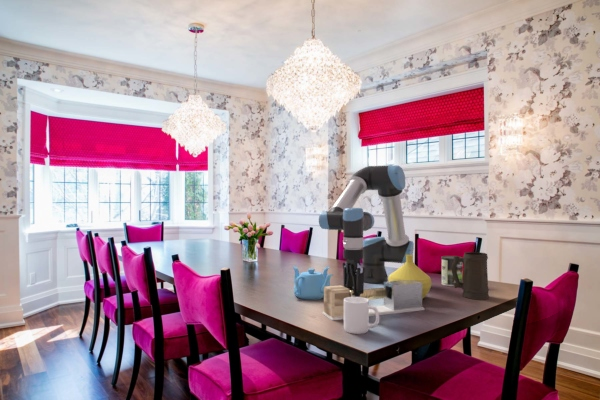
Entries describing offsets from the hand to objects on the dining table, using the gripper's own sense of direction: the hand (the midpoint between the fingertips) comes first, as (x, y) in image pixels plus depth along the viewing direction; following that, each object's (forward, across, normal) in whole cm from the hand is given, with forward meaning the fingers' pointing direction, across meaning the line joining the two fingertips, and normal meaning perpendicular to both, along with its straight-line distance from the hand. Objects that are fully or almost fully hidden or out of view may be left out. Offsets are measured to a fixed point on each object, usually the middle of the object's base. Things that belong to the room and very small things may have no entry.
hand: (353, 309), depth 150 cm
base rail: (+2, 0, +9) cm, 9 cm away
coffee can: (+2, -30, +73) cm, 79 cm away
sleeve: (+2, 0, +22) cm, 22 cm away
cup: (+2, +18, -6) cm, 19 cm away
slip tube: (-3, 0, +4) cm, 5 cm away
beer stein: (+2, -7, +63) cm, 63 cm away
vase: (+2, -13, +35) cm, 37 cm away
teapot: (+2, -32, -3) cm, 32 cm away
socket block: (+2, 0, -6) cm, 7 cm away
